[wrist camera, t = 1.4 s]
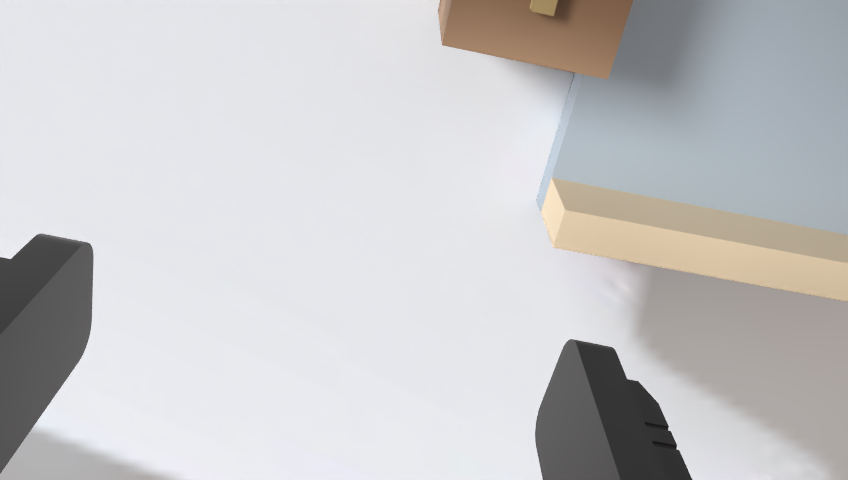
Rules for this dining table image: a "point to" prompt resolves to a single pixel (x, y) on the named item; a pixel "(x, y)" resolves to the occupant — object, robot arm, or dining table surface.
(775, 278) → the board
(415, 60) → the dining table surface
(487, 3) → the walnut box
